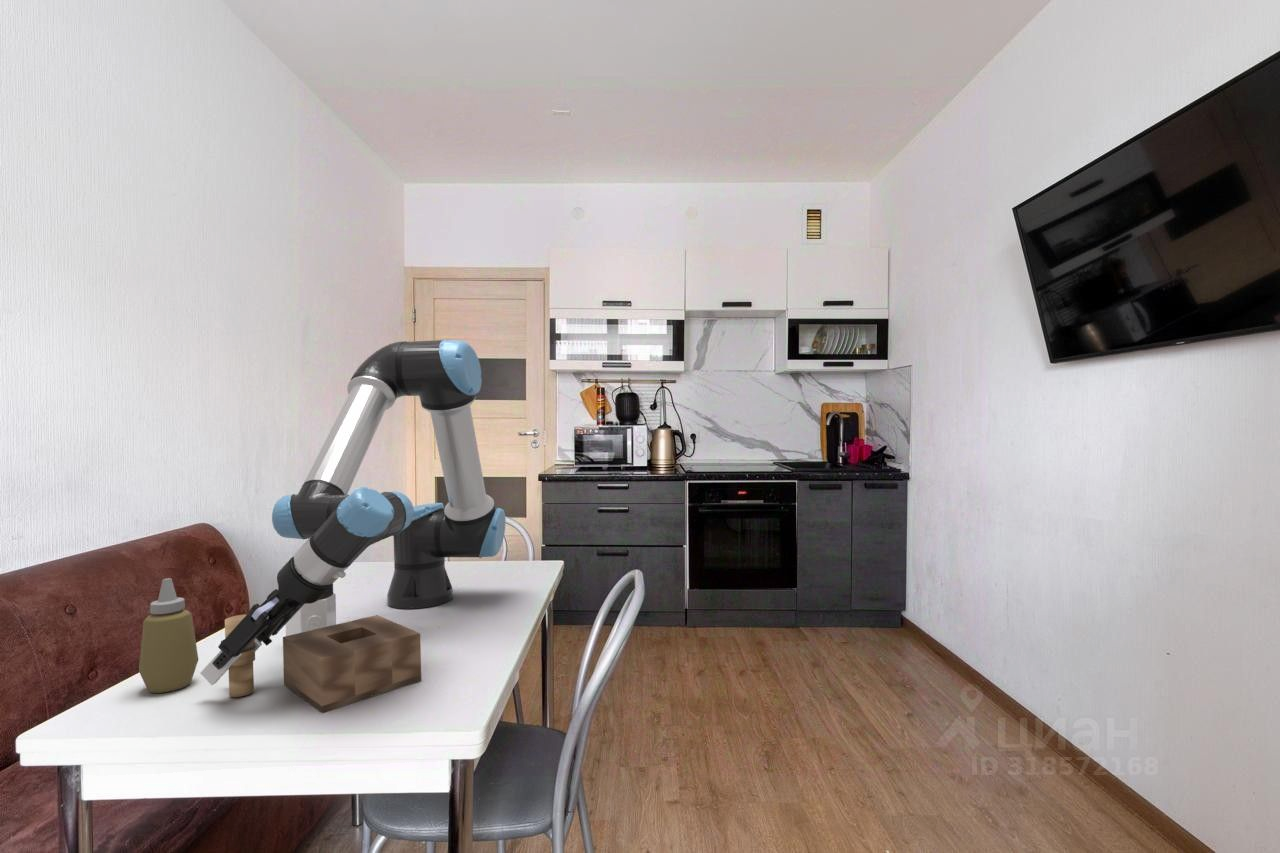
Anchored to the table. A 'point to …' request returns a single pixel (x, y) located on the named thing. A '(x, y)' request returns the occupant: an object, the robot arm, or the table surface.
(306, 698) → the walnut socket block
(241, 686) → the oak peg
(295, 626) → the jar
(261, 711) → the table surface
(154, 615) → the squeeze bottle
